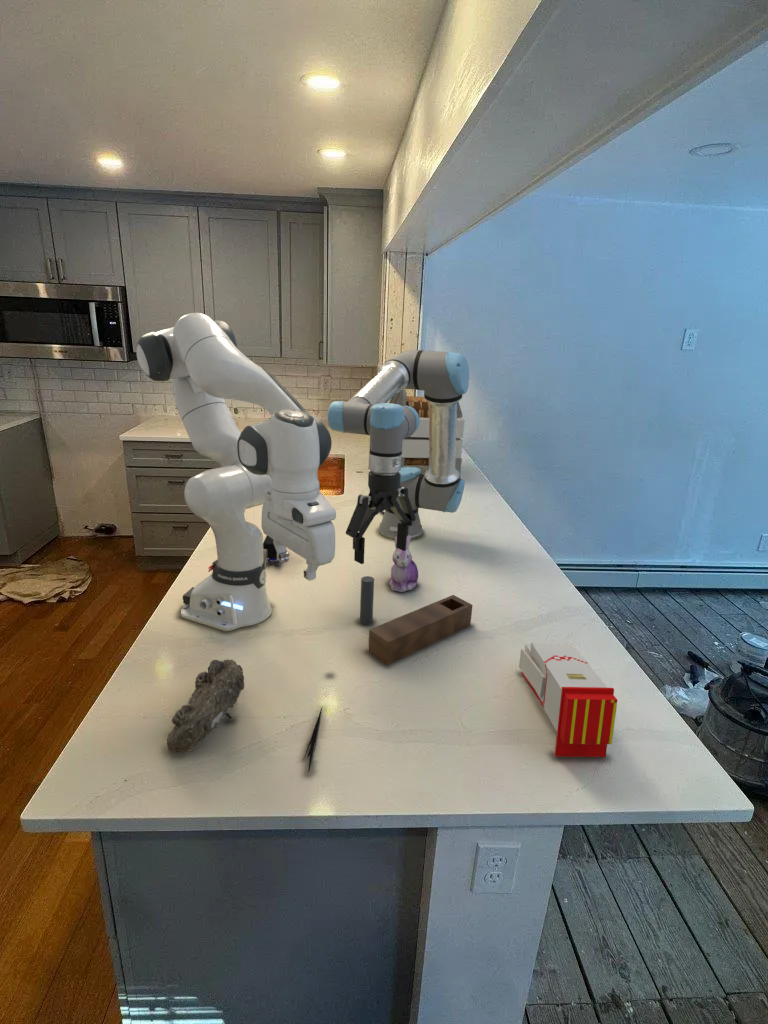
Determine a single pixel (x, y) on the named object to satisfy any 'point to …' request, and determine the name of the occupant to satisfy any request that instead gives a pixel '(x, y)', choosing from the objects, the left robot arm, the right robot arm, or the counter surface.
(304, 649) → the counter surface
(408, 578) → the figurine
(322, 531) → the left robot arm
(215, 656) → the counter surface
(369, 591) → the peg
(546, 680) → the toy
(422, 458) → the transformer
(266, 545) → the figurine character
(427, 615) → the peg board
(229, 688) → the fossil
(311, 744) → the feather
